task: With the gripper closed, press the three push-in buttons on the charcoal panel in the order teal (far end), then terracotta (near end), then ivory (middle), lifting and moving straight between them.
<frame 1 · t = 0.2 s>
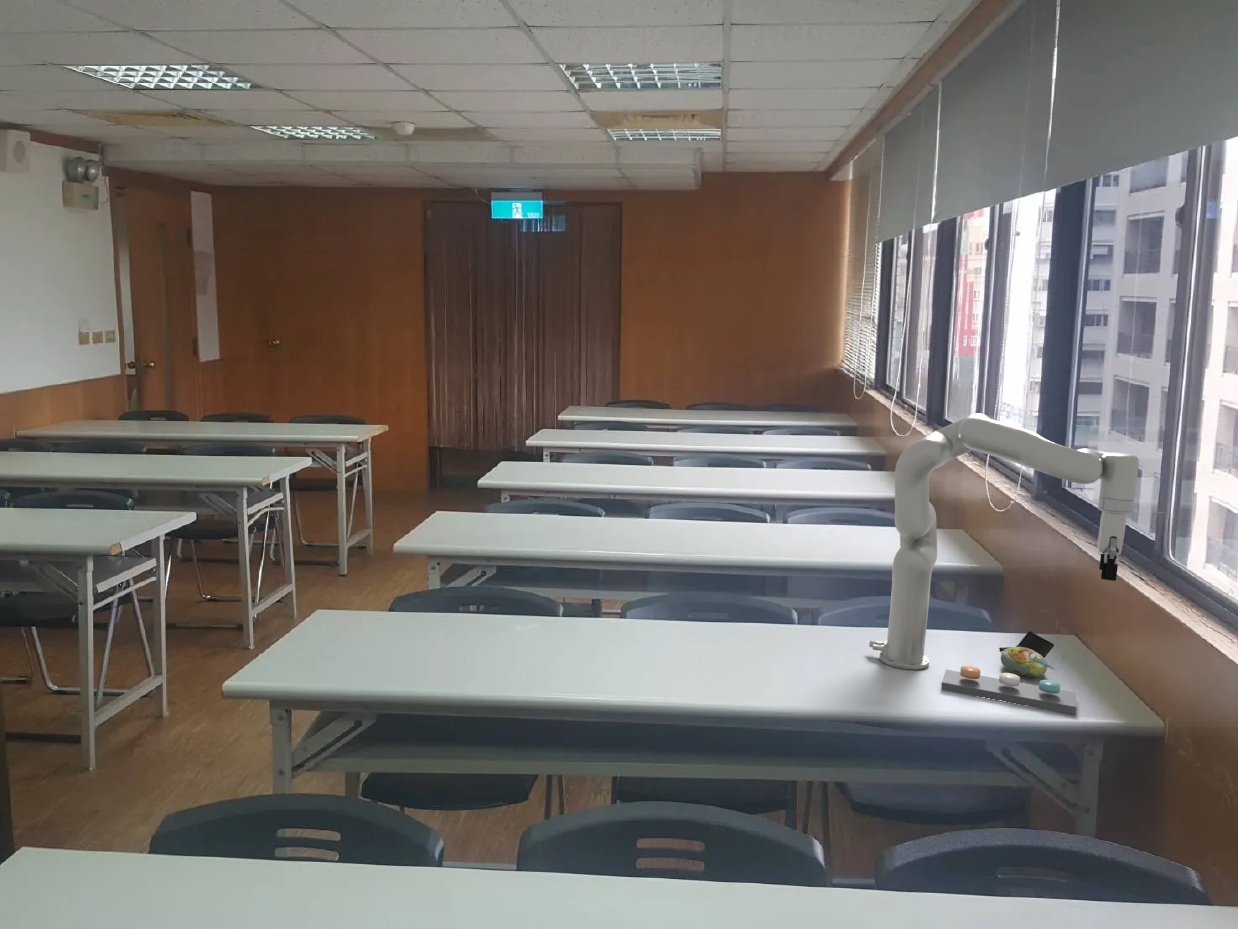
hand: (1107, 575, 243), 31 cm above the table, tool pointing down, fingers open, 9 cm apart
cell model: (1023, 671, 262), on the table, touching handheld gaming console
button terracotta: (970, 672, 248), point 4 cm above the table, slide at 0.0 cm
button ivory: (1009, 679, 244), point 4 cm above the table, slide at 0.0 cm
button teal: (1049, 686, 241), point 4 cm above the table, slide at 0.0 cm
button panel: (1007, 695, 245), on the table
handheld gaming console: (1024, 658, 274), on the table, touching cell model
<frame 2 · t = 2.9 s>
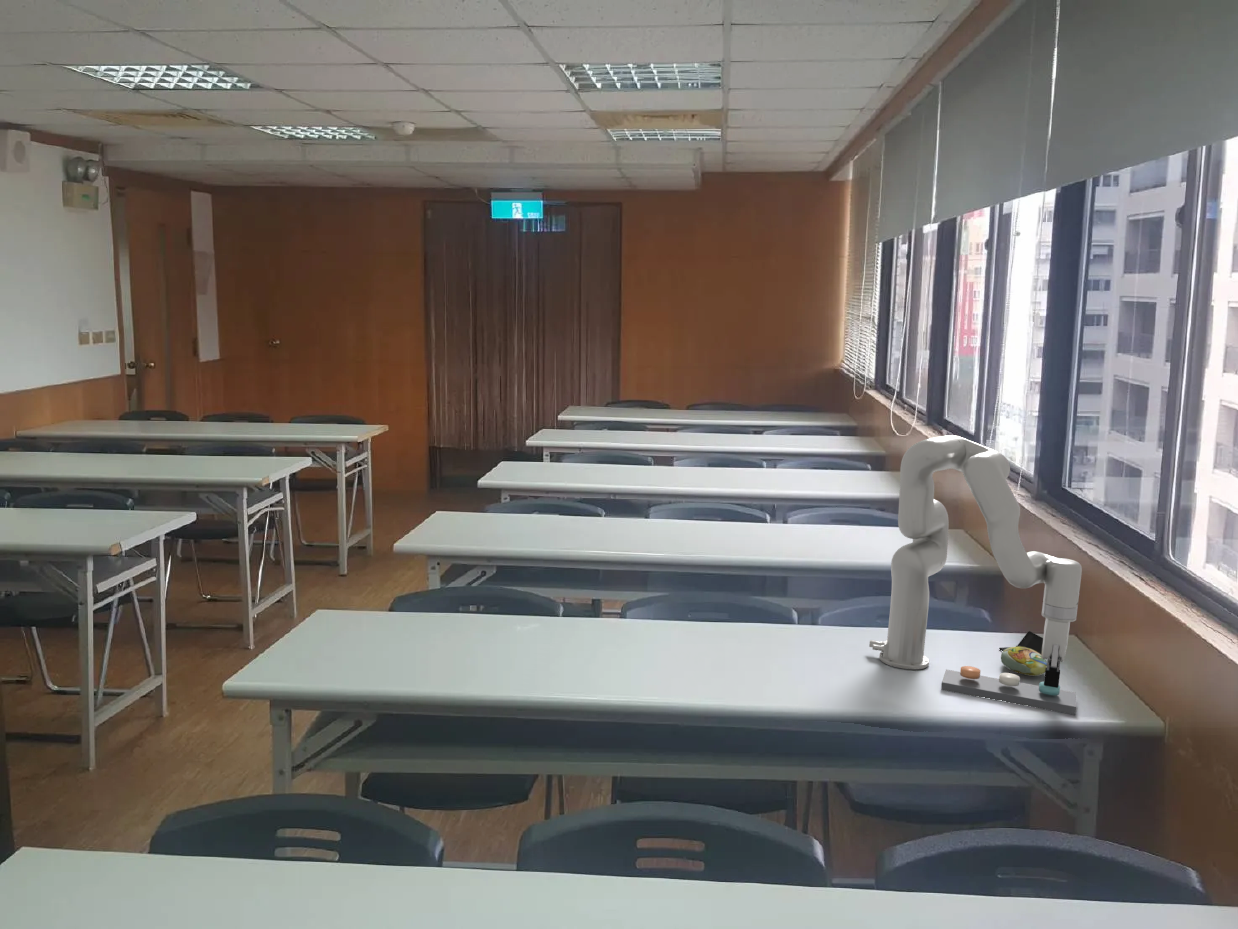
hand: (1051, 685, 241), 4 cm above the table, tool pointing down, fingers closed
button teal: (1049, 688, 241), point 4 cm above the table, slide at 0.5 cm, touching gripper
everything else where it was.
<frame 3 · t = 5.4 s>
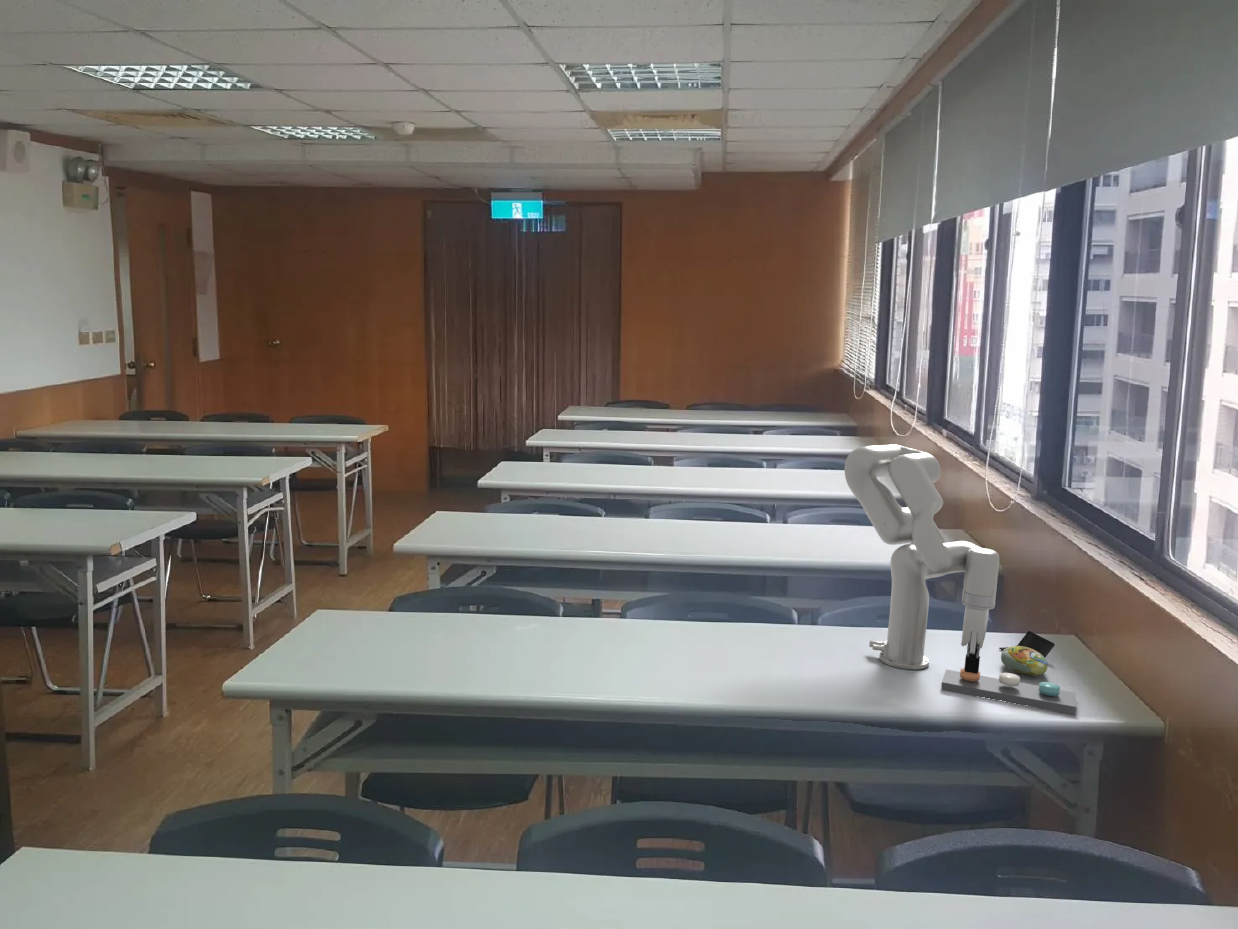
hand: (971, 671, 248), 4 cm above the table, tool pointing down, fingers closed
button terracotta: (970, 674, 248), point 3 cm above the table, slide at 0.5 cm, touching gripper
button teal: (1049, 688, 241), point 3 cm above the table, slide at 0.6 cm
everything else where it was.
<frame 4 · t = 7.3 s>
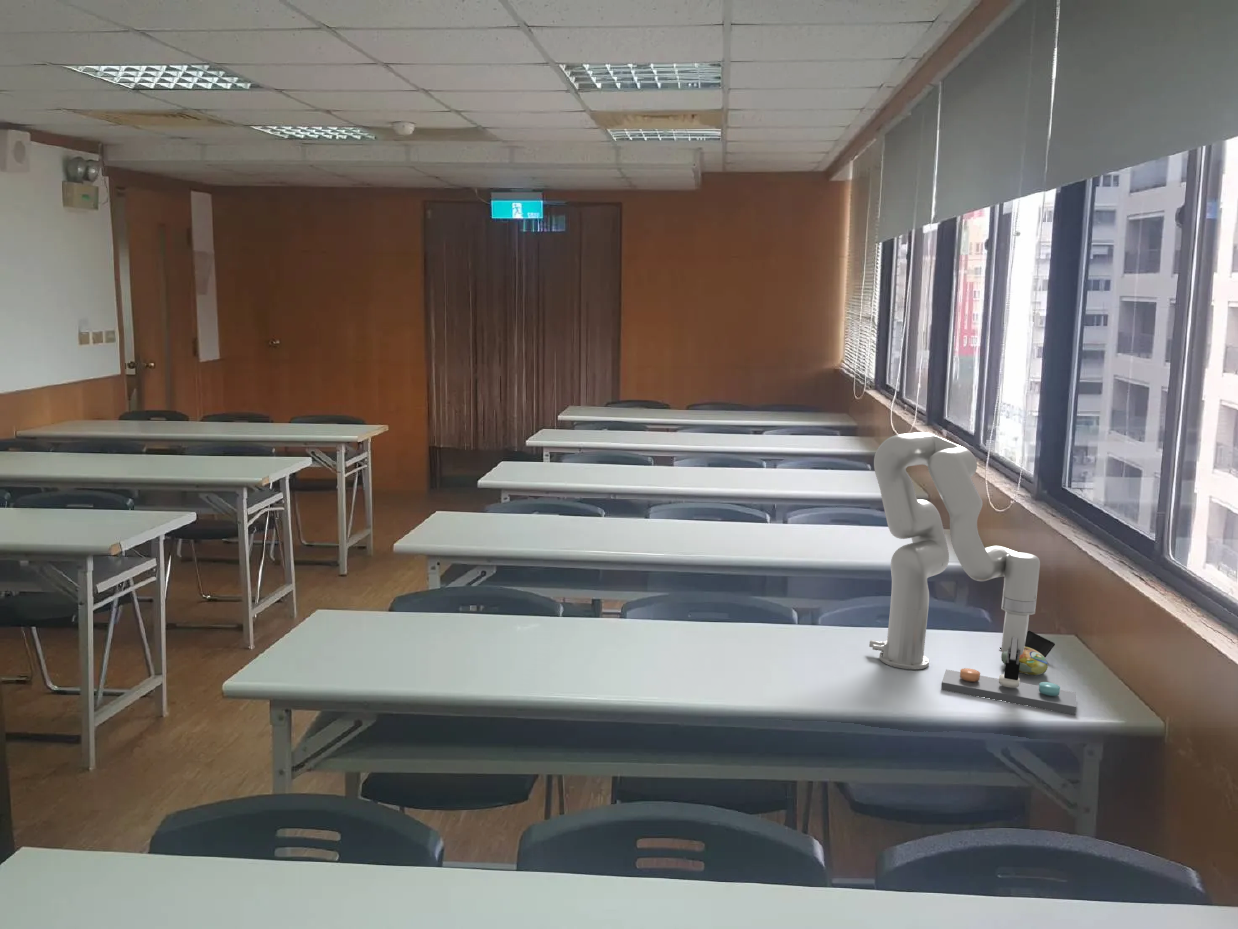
hand: (1011, 678, 244), 4 cm above the table, tool pointing down, fingers closed
button terracotta: (970, 674, 248), point 3 cm above the table, slide at 0.6 cm
button ivory: (1009, 680, 245), point 4 cm above the table, slide at 0.4 cm, touching gripper
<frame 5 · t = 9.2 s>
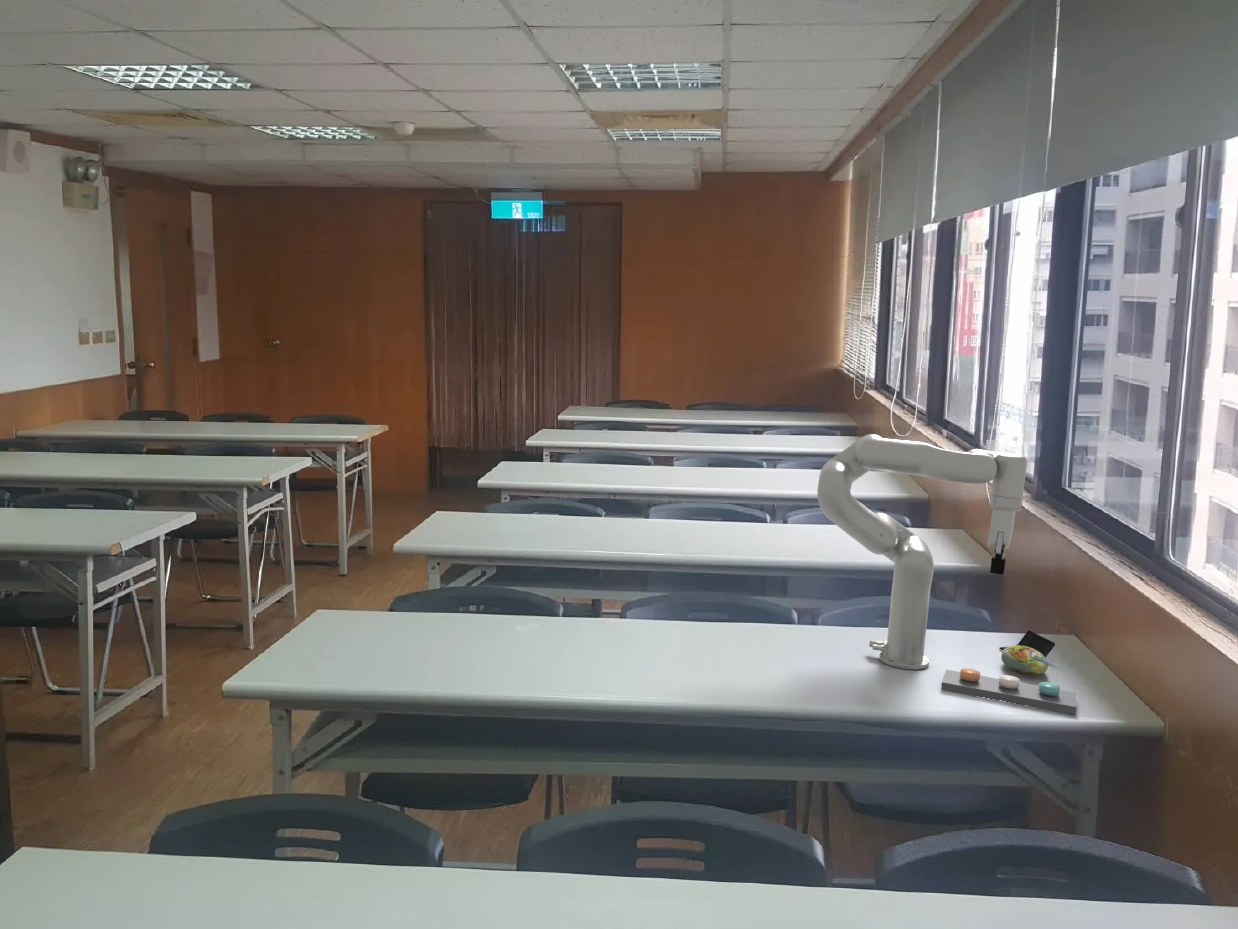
hand: (996, 573, 257), 26 cm above the table, tool pointing down, fingers closed
button ivory: (1009, 681, 245), point 3 cm above the table, slide at 0.6 cm
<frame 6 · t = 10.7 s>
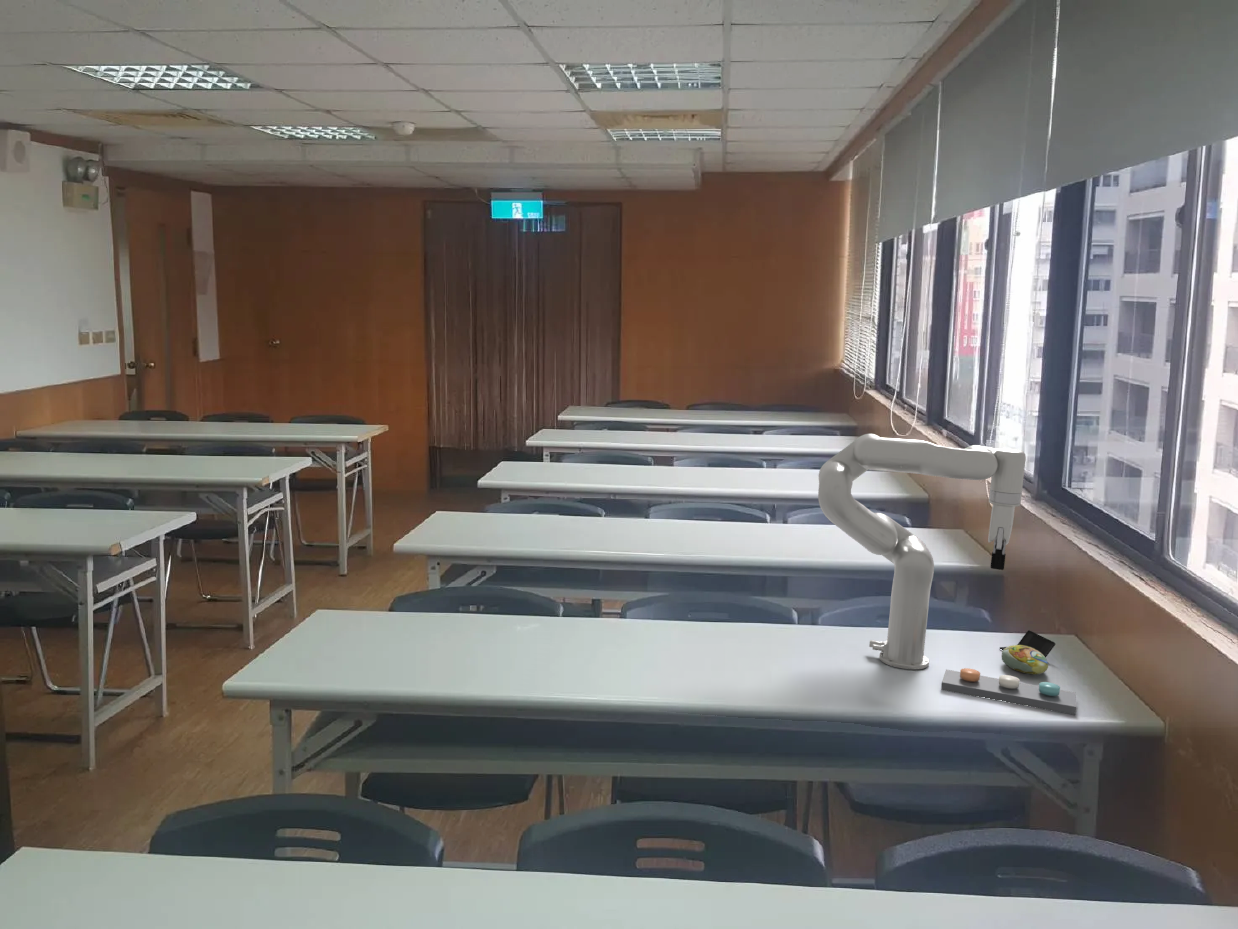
hand: (997, 568, 258), 27 cm above the table, tool pointing down, fingers closed
at the end: button teal slide at 0.6 cm; button terracotta slide at 0.6 cm; button ivory slide at 0.6 cm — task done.
